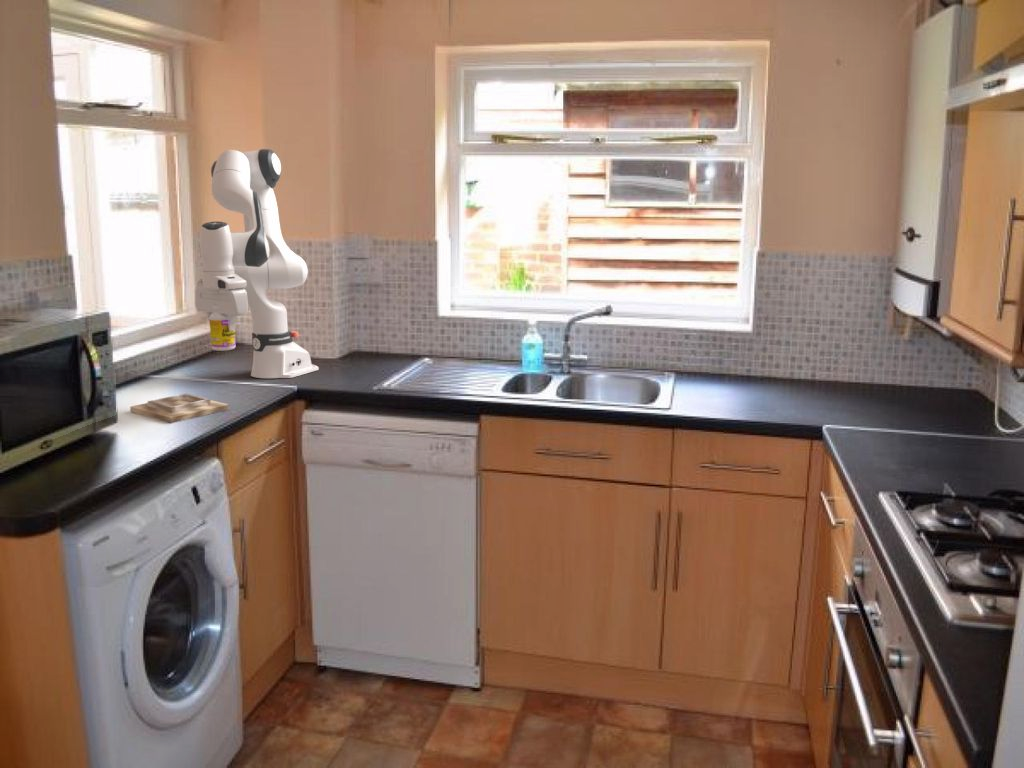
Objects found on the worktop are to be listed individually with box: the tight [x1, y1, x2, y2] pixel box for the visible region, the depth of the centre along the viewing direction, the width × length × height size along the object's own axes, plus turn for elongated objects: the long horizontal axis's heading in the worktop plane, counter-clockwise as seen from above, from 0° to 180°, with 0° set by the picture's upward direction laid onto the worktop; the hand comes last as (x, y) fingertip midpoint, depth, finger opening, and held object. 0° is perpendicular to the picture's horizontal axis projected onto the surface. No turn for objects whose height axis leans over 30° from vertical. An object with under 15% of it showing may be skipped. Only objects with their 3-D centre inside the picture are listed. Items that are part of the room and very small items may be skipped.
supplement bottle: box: [209, 305, 237, 352], centre depth 263 cm, size 7×7×13 cm
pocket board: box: [129, 392, 230, 424], centre depth 257 cm, size 18×20×3 cm
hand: (222, 329), depth 263 cm, fingers closed on supplement bottle, 7 cm apart
